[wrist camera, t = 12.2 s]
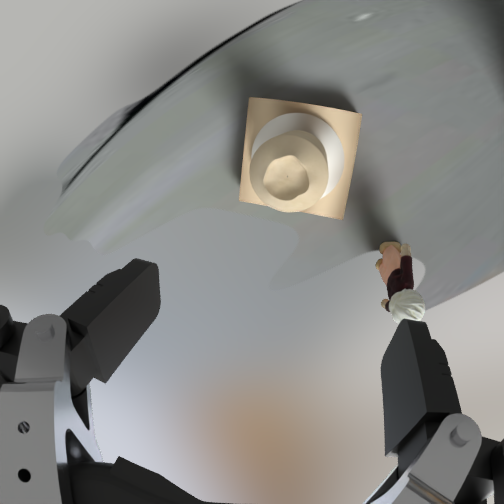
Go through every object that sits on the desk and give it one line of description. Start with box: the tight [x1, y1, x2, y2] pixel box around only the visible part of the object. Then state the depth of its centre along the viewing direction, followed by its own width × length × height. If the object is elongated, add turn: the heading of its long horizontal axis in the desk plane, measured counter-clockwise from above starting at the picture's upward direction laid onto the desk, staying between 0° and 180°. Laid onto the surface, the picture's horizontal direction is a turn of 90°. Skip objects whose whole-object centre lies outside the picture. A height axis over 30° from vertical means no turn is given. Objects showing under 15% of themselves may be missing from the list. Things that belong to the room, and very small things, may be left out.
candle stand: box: [239, 97, 362, 220], centre depth 30 cm, size 11×11×4 cm
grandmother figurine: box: [376, 242, 425, 323], centre depth 28 cm, size 8×4×13 cm, turn 7°
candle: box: [249, 130, 329, 212], centre depth 23 cm, size 6×6×10 cm
